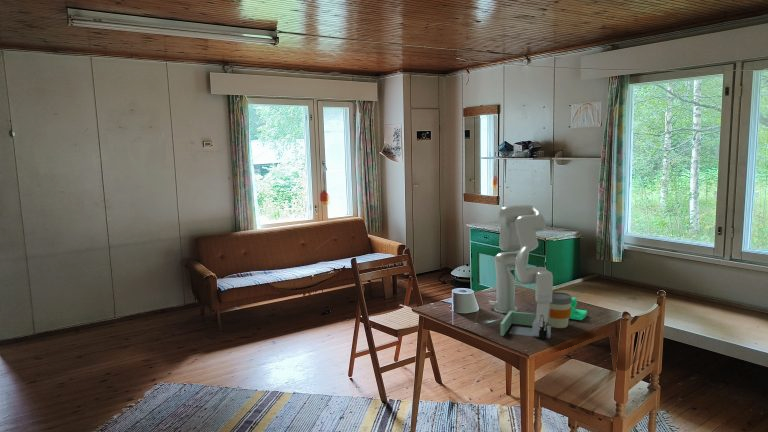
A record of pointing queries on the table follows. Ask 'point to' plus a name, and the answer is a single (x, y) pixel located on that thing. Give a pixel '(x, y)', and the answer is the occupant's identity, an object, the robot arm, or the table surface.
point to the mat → (521, 331)
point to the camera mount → (576, 311)
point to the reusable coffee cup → (560, 309)
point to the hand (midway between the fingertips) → (543, 335)
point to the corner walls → (516, 320)
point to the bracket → (536, 329)
